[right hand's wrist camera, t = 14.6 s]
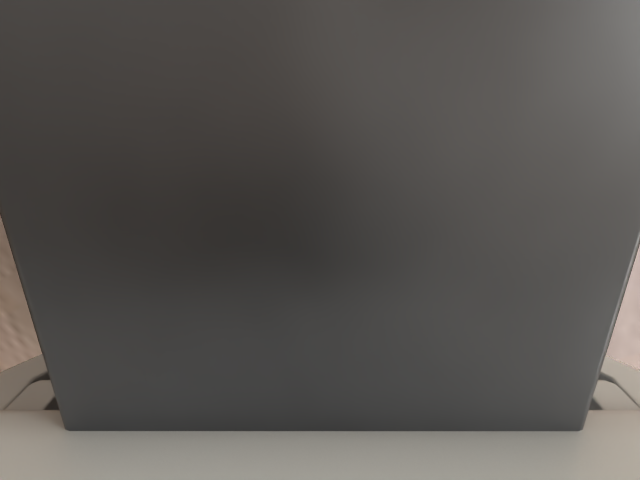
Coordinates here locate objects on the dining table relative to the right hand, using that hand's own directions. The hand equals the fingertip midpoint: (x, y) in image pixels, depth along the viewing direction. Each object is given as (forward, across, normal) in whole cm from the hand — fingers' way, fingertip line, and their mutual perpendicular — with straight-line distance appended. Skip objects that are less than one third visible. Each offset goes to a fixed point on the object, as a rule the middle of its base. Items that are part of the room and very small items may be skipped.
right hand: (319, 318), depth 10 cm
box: (+4, 0, -8) cm, 9 cm away
